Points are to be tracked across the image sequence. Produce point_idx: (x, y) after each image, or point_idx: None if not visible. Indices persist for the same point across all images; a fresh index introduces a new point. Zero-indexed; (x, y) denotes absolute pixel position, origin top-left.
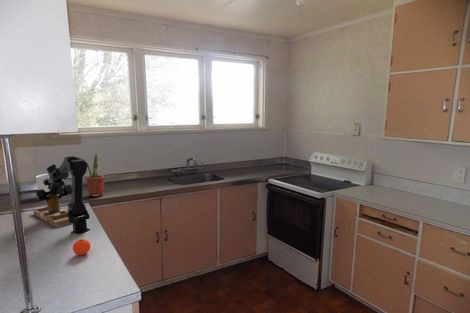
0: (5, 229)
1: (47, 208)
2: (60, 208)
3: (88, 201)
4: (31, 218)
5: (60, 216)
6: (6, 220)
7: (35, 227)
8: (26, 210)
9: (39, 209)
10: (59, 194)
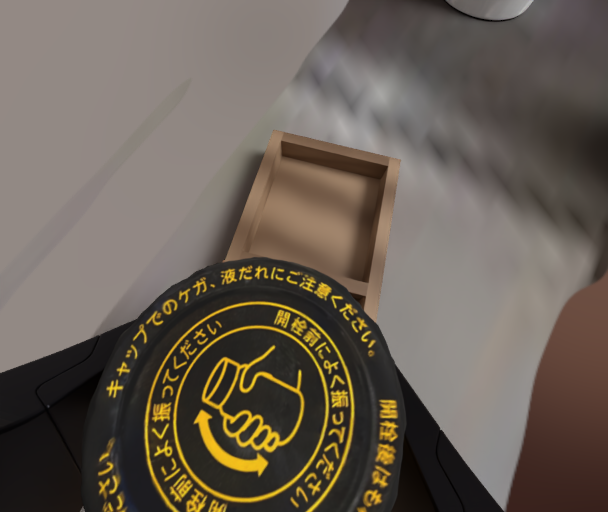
0: (20, 255)
1: (348, 163)
2: (377, 277)
3: (603, 226)
4: (219, 206)
5: None
6: (154, 116)
7: None
8: (304, 64)
9: (302, 148)
10: (399, 479)
